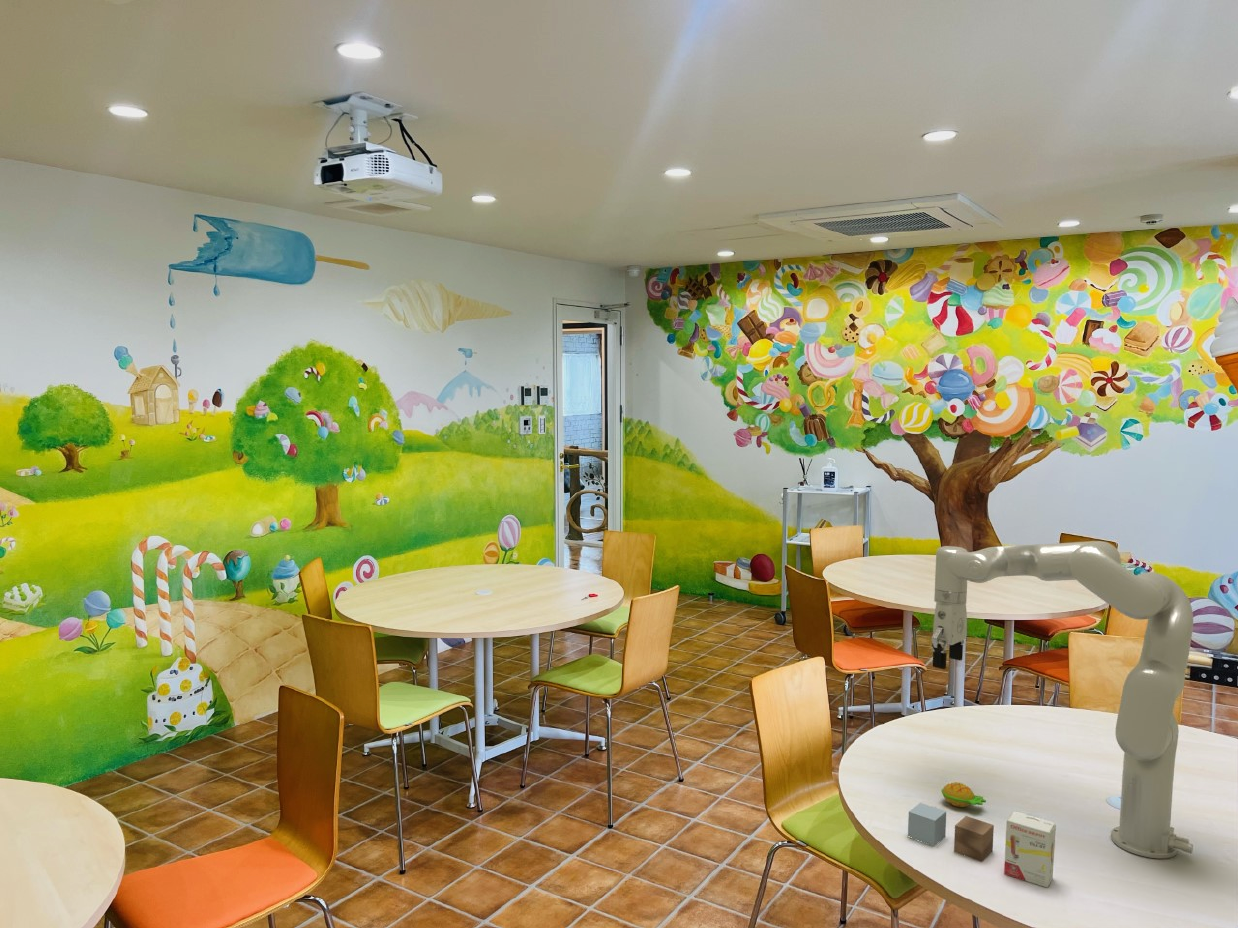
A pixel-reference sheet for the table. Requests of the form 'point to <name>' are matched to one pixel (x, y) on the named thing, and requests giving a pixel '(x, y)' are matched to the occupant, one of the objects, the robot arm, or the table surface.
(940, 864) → the table surface
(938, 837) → the gray block
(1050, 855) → the ink box
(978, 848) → the walnut block
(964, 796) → the toy pineapple
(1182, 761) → the table surface
